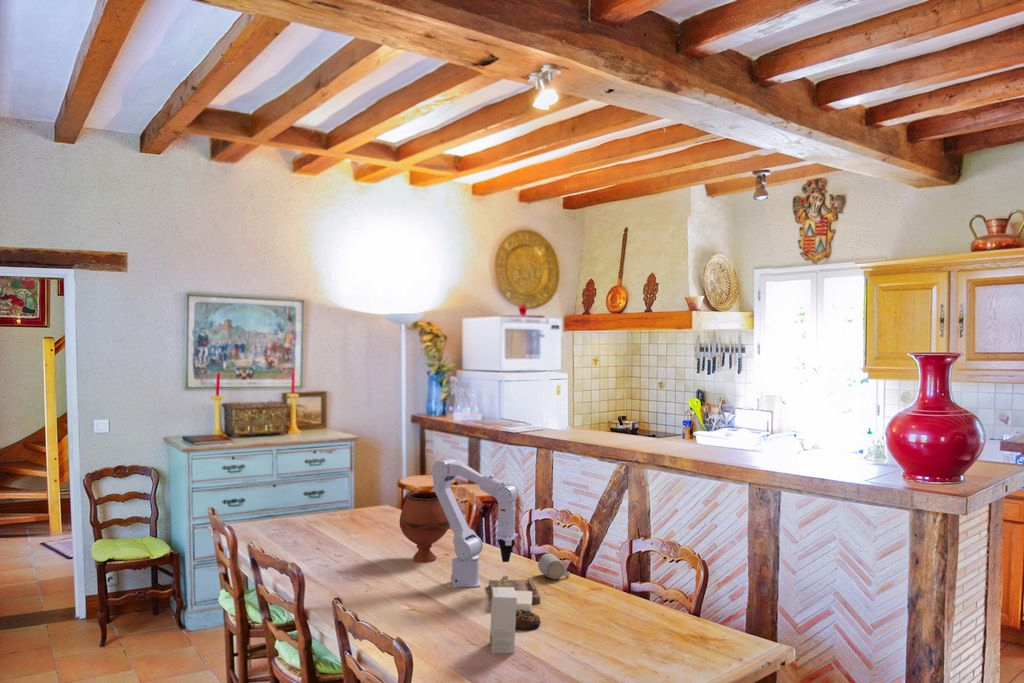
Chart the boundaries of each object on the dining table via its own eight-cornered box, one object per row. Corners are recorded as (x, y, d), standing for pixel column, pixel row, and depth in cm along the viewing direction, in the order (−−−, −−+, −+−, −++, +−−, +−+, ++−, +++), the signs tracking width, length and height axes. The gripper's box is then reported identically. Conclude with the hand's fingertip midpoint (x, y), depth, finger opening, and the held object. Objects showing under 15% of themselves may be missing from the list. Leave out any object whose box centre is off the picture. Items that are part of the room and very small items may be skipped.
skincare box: (489, 642, 213) (491, 586, 213) (513, 642, 213) (514, 586, 214) (491, 654, 205) (492, 596, 205) (515, 654, 205) (517, 596, 205)
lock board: (493, 604, 244) (494, 593, 244) (488, 586, 262) (489, 576, 262) (540, 603, 246) (540, 592, 246) (531, 585, 264) (532, 575, 264)
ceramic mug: (547, 581, 268) (548, 559, 268) (537, 574, 276) (538, 553, 276) (573, 579, 273) (574, 557, 273) (563, 572, 280) (564, 551, 280)
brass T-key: (502, 589, 251) (503, 575, 251) (508, 590, 251) (508, 576, 251) (495, 601, 240) (496, 586, 240) (501, 602, 239) (501, 587, 239)
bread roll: (529, 633, 220) (527, 616, 220) (497, 630, 226) (496, 613, 226) (548, 624, 229) (547, 606, 230) (517, 621, 235) (516, 604, 235)
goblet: (389, 562, 287) (390, 496, 287) (414, 550, 304) (415, 488, 304) (434, 569, 279) (435, 501, 279) (457, 556, 297) (458, 492, 297)
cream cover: (509, 609, 239) (509, 603, 238) (510, 596, 245) (510, 590, 244) (531, 610, 239) (531, 604, 238) (532, 597, 244) (532, 591, 244)
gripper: (521, 526, 251) (520, 567, 251) (515, 516, 265) (514, 555, 265) (499, 526, 250) (498, 567, 250) (495, 516, 264) (494, 555, 264)
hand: (505, 561), depth 257 cm, fingers closed
